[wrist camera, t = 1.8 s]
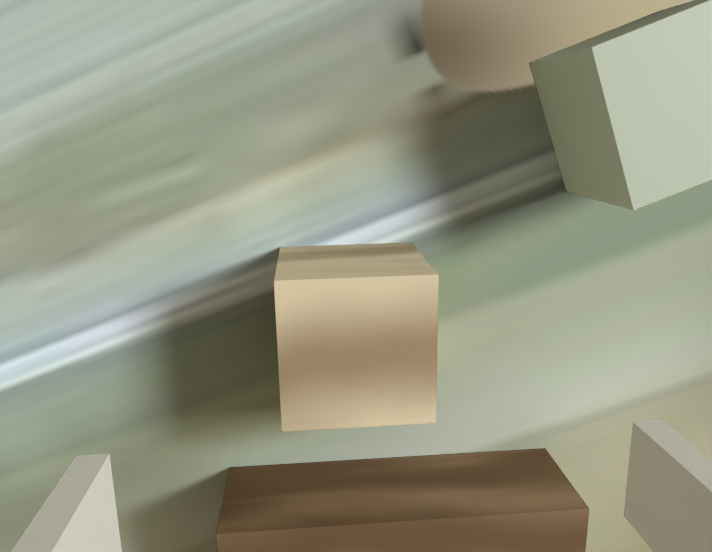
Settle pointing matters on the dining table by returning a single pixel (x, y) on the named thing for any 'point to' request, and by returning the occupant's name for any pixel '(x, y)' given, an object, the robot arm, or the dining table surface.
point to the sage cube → (633, 107)
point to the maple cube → (356, 336)
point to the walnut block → (405, 505)
